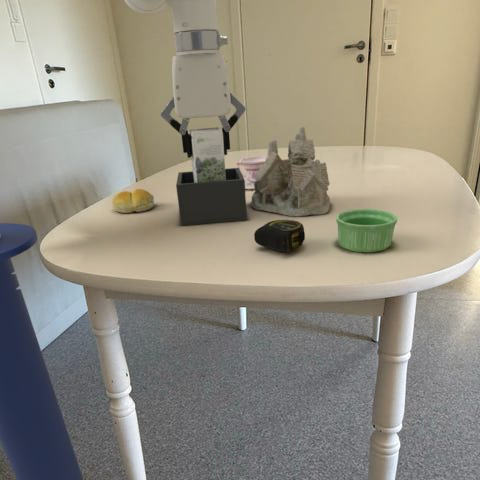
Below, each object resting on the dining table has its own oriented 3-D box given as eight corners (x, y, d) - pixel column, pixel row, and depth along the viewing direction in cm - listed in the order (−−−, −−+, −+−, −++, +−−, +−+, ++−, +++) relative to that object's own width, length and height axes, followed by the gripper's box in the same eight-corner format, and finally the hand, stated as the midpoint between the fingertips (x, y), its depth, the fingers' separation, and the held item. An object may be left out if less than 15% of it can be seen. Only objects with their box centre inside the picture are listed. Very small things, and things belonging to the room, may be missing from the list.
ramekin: (378, 258, 64) (381, 229, 62) (324, 247, 70) (325, 220, 68) (403, 240, 70) (407, 213, 68) (352, 231, 75) (353, 206, 73)
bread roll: (116, 205, 102) (113, 188, 100) (155, 202, 102) (153, 185, 100) (110, 215, 95) (106, 196, 93) (152, 212, 95) (149, 193, 93)
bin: (181, 225, 85) (176, 185, 81) (182, 208, 96) (178, 172, 92) (246, 220, 85) (244, 179, 82) (241, 204, 96) (238, 167, 93)
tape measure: (252, 249, 71) (251, 226, 69) (282, 237, 75) (281, 216, 73) (283, 258, 67) (283, 234, 65) (313, 246, 70) (314, 223, 68)
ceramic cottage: (251, 197, 100) (250, 125, 92) (325, 197, 99) (331, 124, 91) (248, 222, 87) (247, 141, 78) (334, 222, 86) (341, 139, 77)
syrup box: (223, 201, 93) (217, 126, 86) (228, 208, 88) (222, 129, 81) (196, 204, 92) (187, 128, 85) (199, 211, 87) (191, 131, 80)
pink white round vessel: (281, 178, 117) (281, 154, 114) (280, 189, 106) (280, 162, 103) (236, 180, 118) (234, 156, 115) (231, 191, 108) (229, 164, 105)
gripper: (245, 43, 80) (250, 149, 89) (149, 49, 79) (163, 155, 88) (249, 40, 74) (254, 154, 82) (144, 47, 73) (160, 162, 82)
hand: (207, 154), depth 85 cm, fingers closed on syrup box, 6 cm apart
